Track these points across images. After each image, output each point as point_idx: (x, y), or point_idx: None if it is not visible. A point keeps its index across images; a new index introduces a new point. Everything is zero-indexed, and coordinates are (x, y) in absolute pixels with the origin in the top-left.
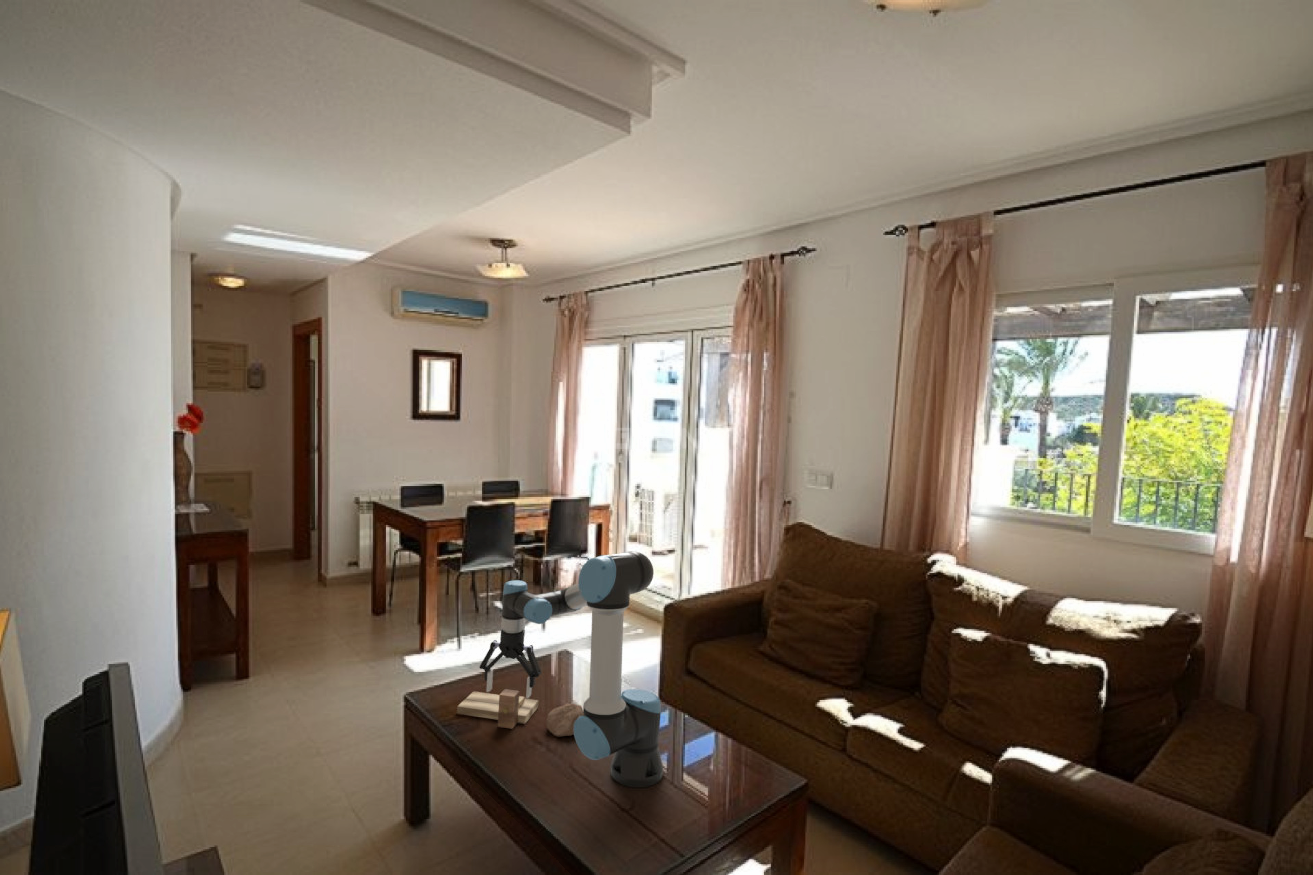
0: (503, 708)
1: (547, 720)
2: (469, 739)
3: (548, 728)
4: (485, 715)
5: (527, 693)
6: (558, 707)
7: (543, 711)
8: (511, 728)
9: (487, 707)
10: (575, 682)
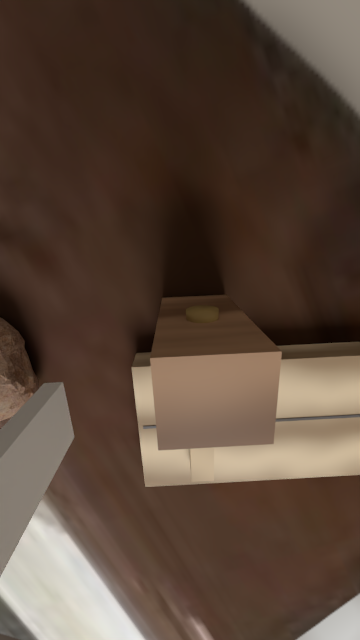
0: (219, 319)
1: (2, 347)
2: (301, 153)
3: (2, 321)
4: (304, 348)
5: (32, 406)
6: None
7: (117, 446)
8: (166, 298)
9: (316, 381)
10: (113, 607)
